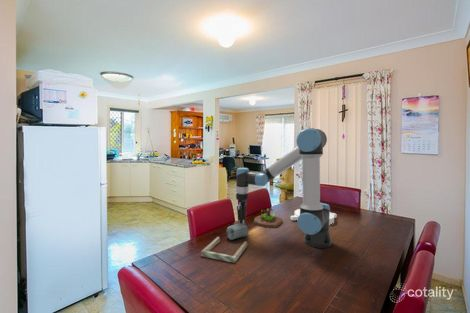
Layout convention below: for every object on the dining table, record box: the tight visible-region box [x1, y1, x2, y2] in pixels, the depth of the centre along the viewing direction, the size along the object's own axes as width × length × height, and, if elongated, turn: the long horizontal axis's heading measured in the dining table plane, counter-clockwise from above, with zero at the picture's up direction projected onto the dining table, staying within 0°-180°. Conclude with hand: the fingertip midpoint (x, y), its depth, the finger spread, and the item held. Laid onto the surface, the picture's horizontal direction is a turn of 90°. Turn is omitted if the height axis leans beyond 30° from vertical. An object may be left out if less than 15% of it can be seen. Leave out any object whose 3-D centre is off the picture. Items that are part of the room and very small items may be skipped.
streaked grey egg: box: [226, 223, 249, 241], centre depth 146 cm, size 14×10×10 cm
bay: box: [200, 236, 248, 264], centre depth 129 cm, size 18×20×2 cm
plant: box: [253, 207, 284, 229], centre depth 173 cm, size 20×20×11 cm
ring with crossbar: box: [289, 208, 338, 226], centre depth 181 cm, size 28×28×5 cm
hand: (241, 229), depth 153 cm, fingers closed
